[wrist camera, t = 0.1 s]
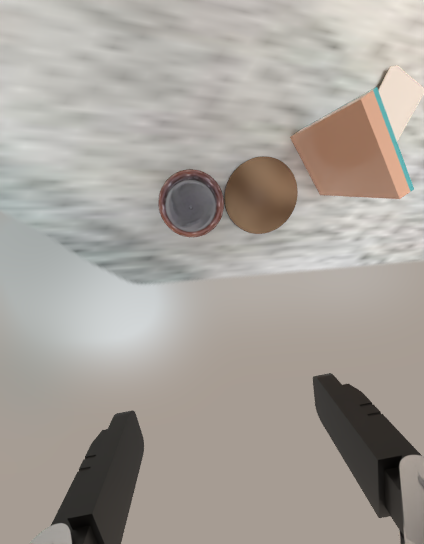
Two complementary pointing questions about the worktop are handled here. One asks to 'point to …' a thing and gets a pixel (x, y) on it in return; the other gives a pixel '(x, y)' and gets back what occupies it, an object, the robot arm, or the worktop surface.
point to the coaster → (261, 195)
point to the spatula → (399, 97)
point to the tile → (354, 151)
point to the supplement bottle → (191, 203)
